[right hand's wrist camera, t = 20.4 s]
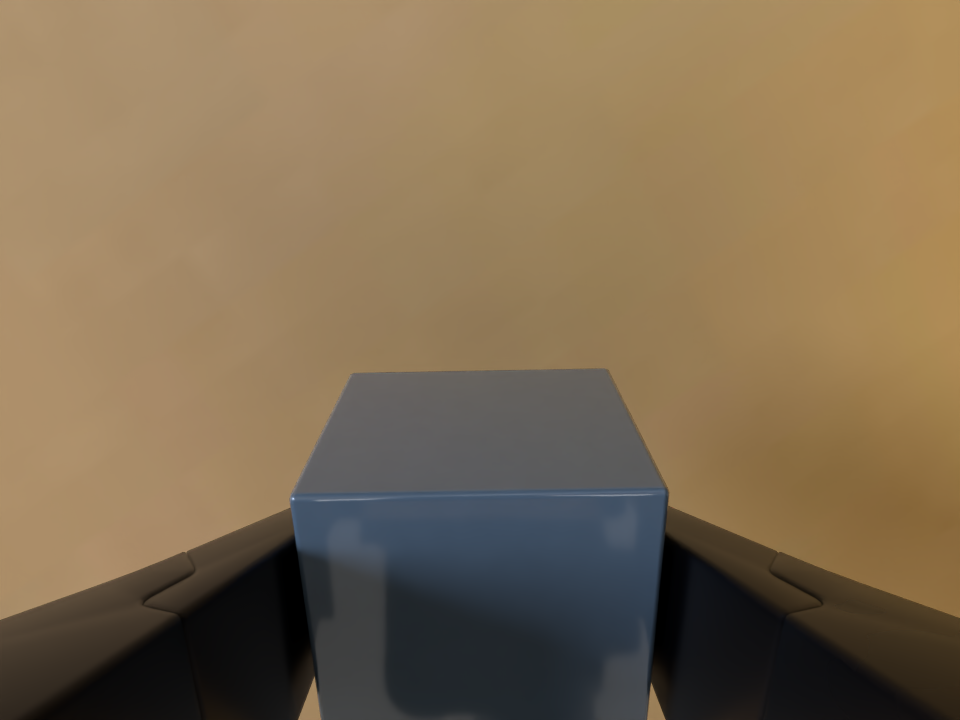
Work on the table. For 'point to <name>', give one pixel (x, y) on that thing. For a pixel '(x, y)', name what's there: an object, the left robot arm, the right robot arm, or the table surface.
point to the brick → (481, 548)
